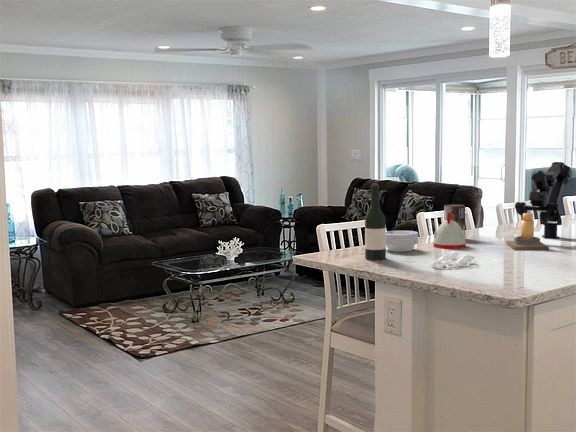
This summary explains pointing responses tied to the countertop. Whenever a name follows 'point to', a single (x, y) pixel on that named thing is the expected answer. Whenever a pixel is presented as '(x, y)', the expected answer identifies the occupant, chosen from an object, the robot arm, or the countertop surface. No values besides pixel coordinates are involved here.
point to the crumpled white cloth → (452, 261)
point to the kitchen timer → (449, 235)
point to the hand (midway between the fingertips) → (532, 223)
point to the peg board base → (527, 244)
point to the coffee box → (456, 214)
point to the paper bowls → (401, 240)
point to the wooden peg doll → (527, 226)
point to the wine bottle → (375, 229)
